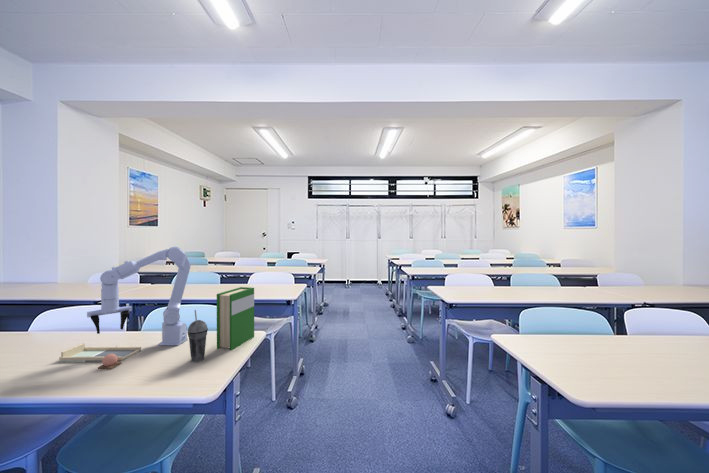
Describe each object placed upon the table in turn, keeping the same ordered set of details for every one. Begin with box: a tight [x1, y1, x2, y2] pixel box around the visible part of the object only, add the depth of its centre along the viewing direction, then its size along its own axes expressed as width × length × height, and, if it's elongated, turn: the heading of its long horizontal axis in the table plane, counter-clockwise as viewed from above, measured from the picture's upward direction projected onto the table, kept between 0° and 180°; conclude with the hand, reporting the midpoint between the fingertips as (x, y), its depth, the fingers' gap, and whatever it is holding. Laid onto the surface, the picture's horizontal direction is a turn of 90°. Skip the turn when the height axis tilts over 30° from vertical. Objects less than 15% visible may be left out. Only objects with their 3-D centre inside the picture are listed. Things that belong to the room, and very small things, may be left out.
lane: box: [58, 343, 142, 363], centre depth 122 cm, size 24×11×4 cm, turn 90°
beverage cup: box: [187, 309, 209, 363], centre depth 119 cm, size 7×7×20 cm
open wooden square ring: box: [97, 361, 123, 370], centre depth 113 cm, size 5×5×1 cm
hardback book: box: [216, 286, 255, 351], centre depth 138 cm, size 18×7×24 cm, turn 167°
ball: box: [101, 354, 118, 366], centre depth 113 cm, size 4×4×4 cm
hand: (110, 331), depth 125 cm, fingers open, 7 cm apart
